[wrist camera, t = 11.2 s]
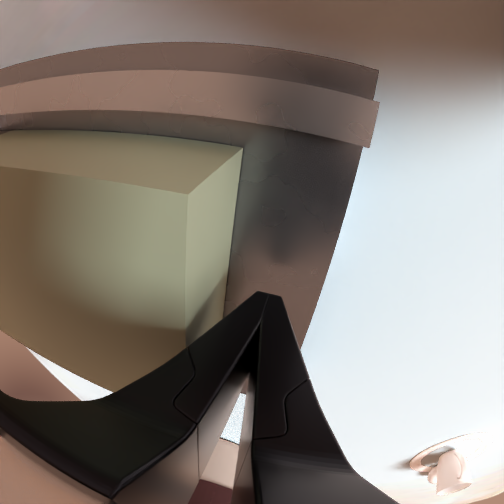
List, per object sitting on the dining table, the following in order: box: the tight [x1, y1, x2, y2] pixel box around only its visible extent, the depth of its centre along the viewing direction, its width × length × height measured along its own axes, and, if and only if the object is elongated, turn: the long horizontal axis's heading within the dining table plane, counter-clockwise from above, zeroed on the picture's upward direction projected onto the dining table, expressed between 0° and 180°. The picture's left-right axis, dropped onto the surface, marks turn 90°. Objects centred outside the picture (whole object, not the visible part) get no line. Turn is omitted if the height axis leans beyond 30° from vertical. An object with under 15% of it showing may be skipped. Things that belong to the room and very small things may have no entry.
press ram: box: [0, 130, 243, 392], centre depth 10 cm, size 12×8×4 cm, turn 82°
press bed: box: [0, 42, 380, 394], centre depth 11 cm, size 24×14×6 cm, turn 82°
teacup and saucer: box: [410, 433, 493, 495], centre depth 17 cm, size 9×8×4 cm
